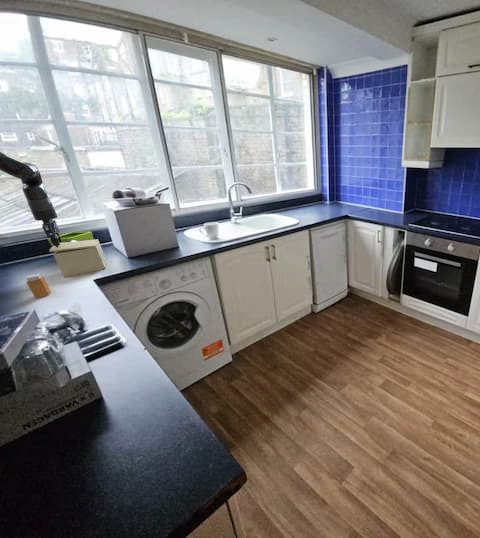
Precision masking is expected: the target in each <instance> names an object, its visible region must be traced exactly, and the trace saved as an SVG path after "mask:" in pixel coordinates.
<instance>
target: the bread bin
mask: <svg viewBox="0 0 480 538" xmlns="http://www.w3.org/2000/svg"><path fill="white" fill-rule="evenodd" d="M103 250H104V249H103V248H102V245H101V244H100V241H99V240H98V243H97V246H96V247H91V248H82V249H73V250H64V251H55V252H54V253H53V257H54V259H55V261H56V264H57V265H58V268H59V270H60V272H61V273H62V275H63V278H68V277H69V278H70V277H73V276H78V275H83V274H88V273H93V272H97V271H102V270H106V269H107V263H108V260H107V258H106V255H105V253H104V251H103Z"/></svg>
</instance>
